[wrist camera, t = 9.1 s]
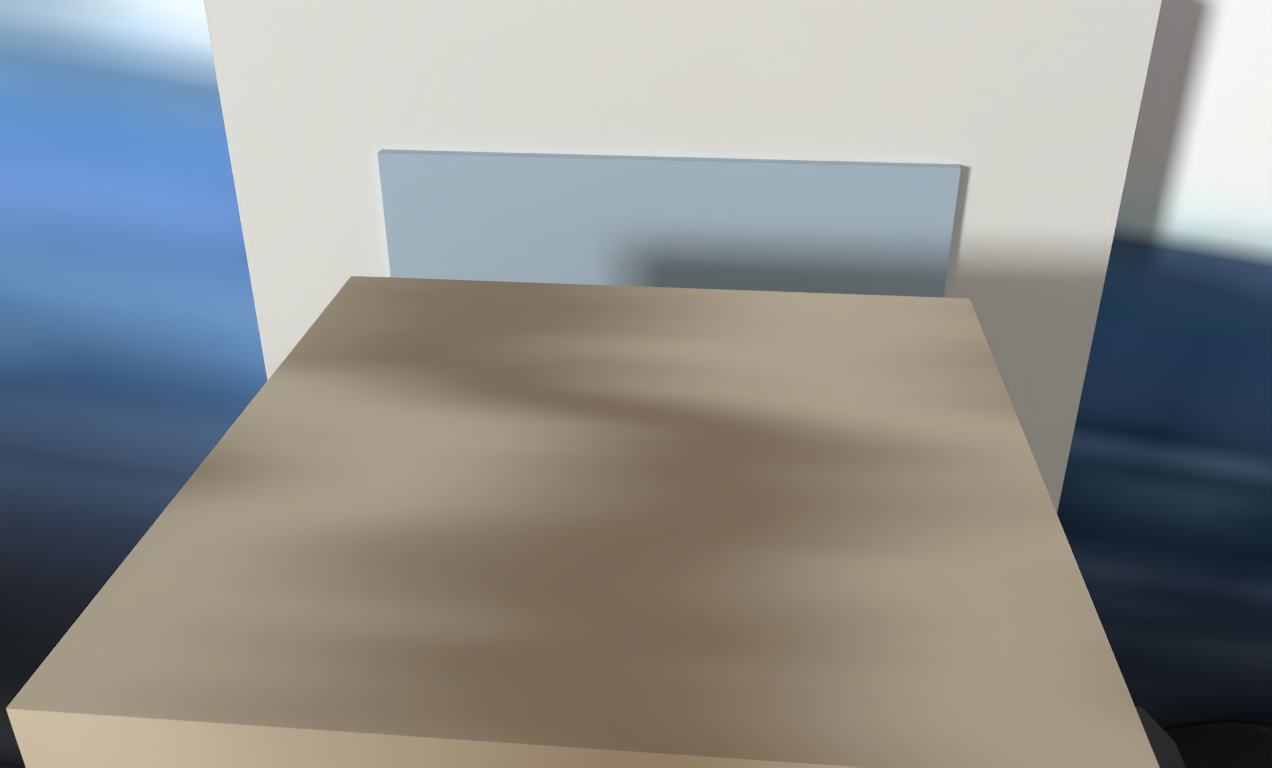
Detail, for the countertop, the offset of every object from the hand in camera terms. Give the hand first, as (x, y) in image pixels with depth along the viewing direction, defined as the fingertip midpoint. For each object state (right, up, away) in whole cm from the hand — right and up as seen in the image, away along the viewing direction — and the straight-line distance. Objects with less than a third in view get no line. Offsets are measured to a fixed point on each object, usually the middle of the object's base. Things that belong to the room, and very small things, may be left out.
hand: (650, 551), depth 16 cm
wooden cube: (0, 0, 0) cm, 0 cm away
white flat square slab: (0, +2, +5) cm, 5 cm away
